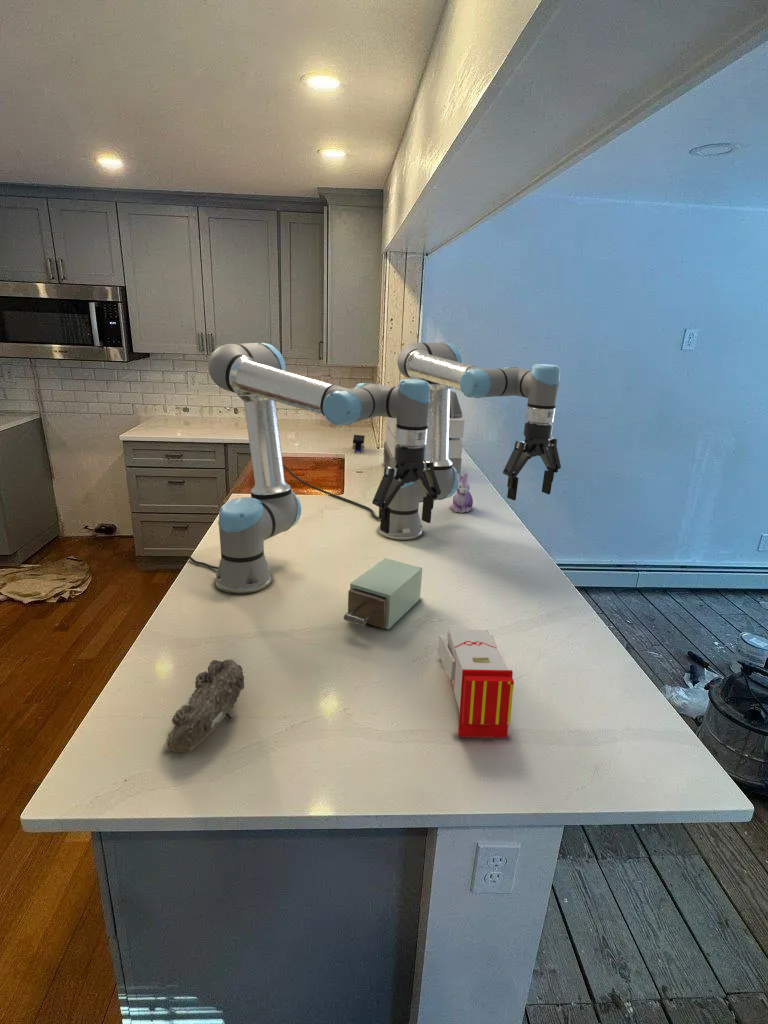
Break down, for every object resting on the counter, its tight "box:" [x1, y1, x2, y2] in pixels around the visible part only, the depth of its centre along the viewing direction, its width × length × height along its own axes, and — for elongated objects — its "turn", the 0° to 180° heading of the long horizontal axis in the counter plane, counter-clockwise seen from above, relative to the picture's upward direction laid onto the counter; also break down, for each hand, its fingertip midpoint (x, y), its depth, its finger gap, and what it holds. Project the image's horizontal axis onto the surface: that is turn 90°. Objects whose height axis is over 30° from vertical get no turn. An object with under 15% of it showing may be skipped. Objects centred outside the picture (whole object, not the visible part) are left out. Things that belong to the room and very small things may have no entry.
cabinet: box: [349, 557, 423, 630], centre depth 149 cm, size 18×11×10 cm, turn 152°
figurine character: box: [351, 434, 365, 454], centre depth 311 cm, size 7×8×15 cm
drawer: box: [343, 588, 387, 629], centre depth 144 cm, size 23×10×8 cm, turn 152°
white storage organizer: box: [383, 385, 465, 475], centre depth 268 cm, size 34×33×41 cm
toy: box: [437, 628, 515, 738], centre depth 117 cm, size 12×13×30 cm
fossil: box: [166, 658, 245, 754], centre depth 106 cm, size 22×10×15 cm
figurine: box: [451, 472, 474, 514], centre depth 225 cm, size 9×10×15 cm
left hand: (405, 526), depth 145 cm, fingers open, 13 cm apart
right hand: (528, 495), depth 163 cm, fingers open, 13 cm apart
